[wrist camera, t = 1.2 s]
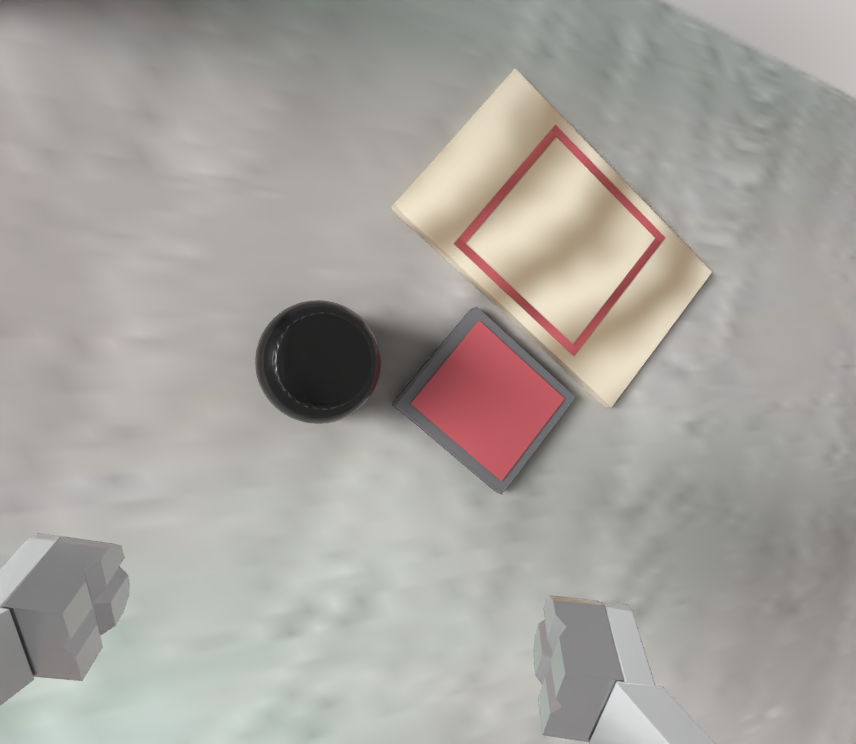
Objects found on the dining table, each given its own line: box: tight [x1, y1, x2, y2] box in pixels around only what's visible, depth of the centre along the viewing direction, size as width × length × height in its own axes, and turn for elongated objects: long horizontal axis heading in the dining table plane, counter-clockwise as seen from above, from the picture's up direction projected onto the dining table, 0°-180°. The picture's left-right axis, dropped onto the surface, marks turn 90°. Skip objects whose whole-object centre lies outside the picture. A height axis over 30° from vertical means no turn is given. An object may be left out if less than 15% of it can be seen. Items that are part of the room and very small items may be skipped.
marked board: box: [391, 69, 712, 407], centre depth 44 cm, size 22×14×1 cm, turn 50°
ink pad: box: [393, 307, 576, 495], centre depth 42 cm, size 10×9×2 cm
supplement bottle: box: [255, 300, 381, 424], centre depth 34 cm, size 7×7×12 cm
